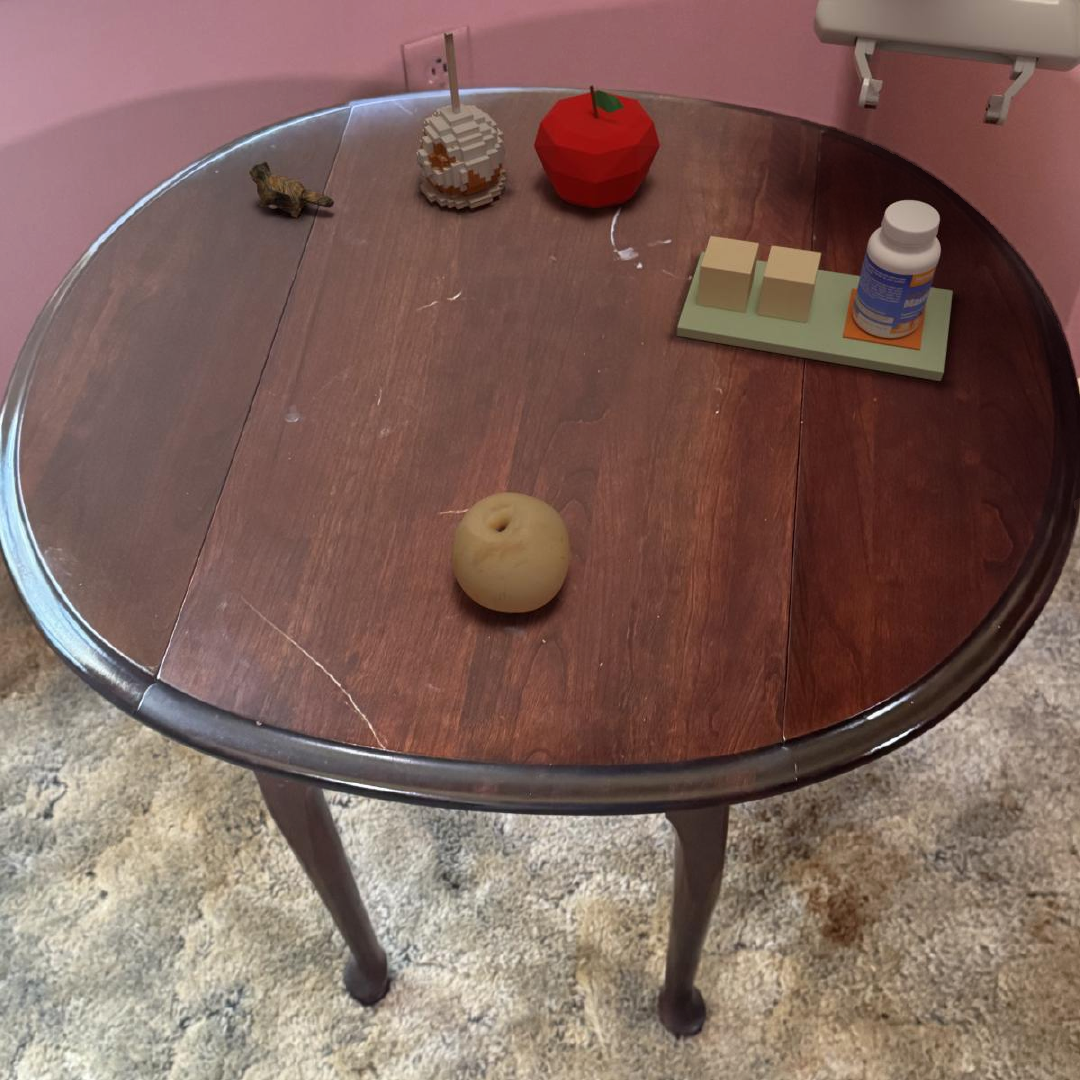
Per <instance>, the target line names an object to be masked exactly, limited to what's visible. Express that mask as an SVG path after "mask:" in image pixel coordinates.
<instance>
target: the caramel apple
mask: <svg viewBox="0 0 1080 1080" xmlns="http://www.w3.org/2000/svg"><path fill="white" fill-rule="evenodd" d="M443 37H444V45H445V55H446V65H447V74H448V83H449V93H450V103H451V104H449V105H445V106H443V107H440V108H436V109H435V110H434V111H433V114H431V116H430V117H427V118H424V121H422V126H423V128H422V129H421V135H422V137H420V138H421V139H419V146H420V149H417V150H416V152H415V157H416V164H417V166H419V170H420V174H421V175H422V176H420V181H421V184H420V185H419V186H420V191H421V192H422V193H423V194H424V196H425V197H426V198H427V200H428V201H429V202H430V203H433V202H437V203H438V204H439V206H440V207H445V206H447V207H448V208H449V209H451V208H453V207H455V208H456V209H457V210H459V209H463V208H464V207H469V208H470V209H471V210H472V209H474V208H477V207H480V206H483V205H486V204H490V203H492V202H494V197H497V196H501V195H502V191H503V190H504V189H505V188H504V187H505V186H506V185H507V178H506V177H507V171H506V169H504V167H503V165H504V164H506V160H505V159H506V158H505V156H506V153H505V152H506V151H505V137H504V133H503V132H502V130H500V128H498V123H496V122H495V120H494V119H493V118H492V117H491V116H490V115H489V114H488V113H487V112H484V110H482V109H481V108H478V107H477V106H476V105H475V104H472V105H470V104H467V105H465V104H464V103H463V102H460V95H459V94H460V93H459V92H460V91H459V82H458V72H457V62H456V53H455V52H456V51H455V43H454V33H453V31H452V30H450V29H449V30H446V31H443Z"/></svg>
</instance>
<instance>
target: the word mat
mask: <svg viewBox="0 0 1080 1080" xmlns="http://www.w3.org/2000/svg"><path fill="white" fill-rule="evenodd" d="M759 247H760V243H759V242H754V241H747V240H740V239H734V238H728V237H722V236H721V237H720V236H714V235H710V236H709V239H708V242H707V246H706V249H705V251H701V253H700V255H699V258H698V262H697V265H696V268H695V271H694V274H693V277H692V279H691V283H690V286H689V289H688V293H687V296H686V298H685V301H684V305H683V308H682V311H681V314H680V317H679V319H678V322H677V326H676V337H681V338H686V339H687V338H688V339H692V340H693V339H694V340H700V341H705V342H711V343H716V344H721V345H722V344H723V345H728V346H733V347H740V348H745V349H751V350H757V351H763V352H768V353H775V354H780V355H785V356H793V357H797V358H804V359H809V360H815V361H821V362H826V363H833V364H838V365H843V366H848V367H849V366H850V367H856V368H860V369H861V368H862V369H867V370H872V371H879V372H885V373H891V374H894V375H895V374H896V375H901V376H902V375H903V376H907V377H912V378H913V377H914V378H920V379H925V380H930V381H937V382H941V381H942V379H943V376H944V374H945V366H946V365H945V364H946V357H947V356H946V355H947V346H948V338H949V329H950V321H951V312H952V303H953V302H952V301H953V294H954V293H953V292H954V291H953V290H951V289H944V288H938V287H932V286H931V288H930V291H929V295H928V298H927V301H926V305H925V308H924V311H923V314H922V318H921V320H920V323H919V325H918V327H917V328H916V329H915V330H914V331H913V332H911V333H910V334H908V335H905V336H902V337H897V338H883V337H879V336H875V335H872V334H870V333H868V332H866V331H865V330H863V329H862V328H861V327H860V326H859V325H858V324H857V323H856V321H855V320H854V317H853V305H854V300H855V296H856V292H857V288H858V284H859V280H860V275H855V274H849V273H842V272H836V271H829V270H824V269H823V270H822V269H819V267H820V262H821V257H822V253H821V252H818V251H811V250H805V249H798V248H792V247H787V246H786V247H785V246H778V245H771V246H770V250H769V253H768V258H767V260H766V261H765V260H758V254H759Z"/></svg>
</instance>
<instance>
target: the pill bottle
mask: <svg viewBox="0 0 1080 1080" xmlns="http://www.w3.org/2000/svg"><path fill="white" fill-rule="evenodd" d="M940 221H941V217H940V214H939V212H938V210H936V209H935V208H934V207H933V206H931V205H930V204H928V203H926V202H923V201H920V200H914V199H904V200H903V199H902V200H899V201H896V202H893V203H891V204H890V205H889V206H888V207H886V209H885V211H884V215H883V217H882V221H881V223H880V224H881V226H879V227H878V228H877V229H876V230H875V231H874V232H873V233H872V234H871V235H870V237H869V239H868V242H867V246H866V249H865V255H864V258H863V263H862V267H861V271H860V275H859V276H860V280H859V284H858V288H857V292H856V296H855V300H854V305H853V317H854V320H855V321H856V323H857V324H858V325H859V326H860V327H861V328H862V329H863V330H865V331H866V332H868V333H870V334H872V335H875V336H879V337H883V338H897V337H902V336H905V335H908V334H910V333H911V332H913V331H914V330H915V329H916V328H917V327H918V325H919V323H920V320H921V318H922V314H923V311H924V308H925V305H926V301H927V298H928V295H929V291H930V288H931V287H932V285H933V282H934V277H935V275H936V271H937V267H938V264H939V261H940V258H941V252H942V248H941V243H940V241H939V239H938V237H937V235H938V231H939V225H940Z"/></svg>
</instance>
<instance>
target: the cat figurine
mask: <svg viewBox="0 0 1080 1080" xmlns="http://www.w3.org/2000/svg"><path fill="white" fill-rule="evenodd" d="M249 175H250V177H251V180H252V181H253V182H254V183H255V184H256V189H257V195H258V197H259V200H260V201H261V203H260V207H264V208H267V207H268V208H270V209H274V210H275V209H280V210H281V211H284V212H287V213H289V214H290V216H291V217H292V218H296V219H297V218H298V217H299V215H300V213H301V211H302V209H303V208H304V207H305V206H306V204H307V203H308V204H309V203H310V204H312V205H316V206H318V207H323V208H332V207H334V204H335V201H334V199H332V198H331V197H330V196H327V195H325V194H322V193H319V192H316V191H314V190H310V189H306V188H305V185H303V184H302V183H301V182H300V180H296V179H293V178H289V177H287V176H285V175H280V174H274V173H273V172H272V171H271V168H270V166H269V164H268V162H267V161H263V162H262V163H260V164H259V163H258V164H255V165H253V167H252V168H251V170H249Z"/></svg>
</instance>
